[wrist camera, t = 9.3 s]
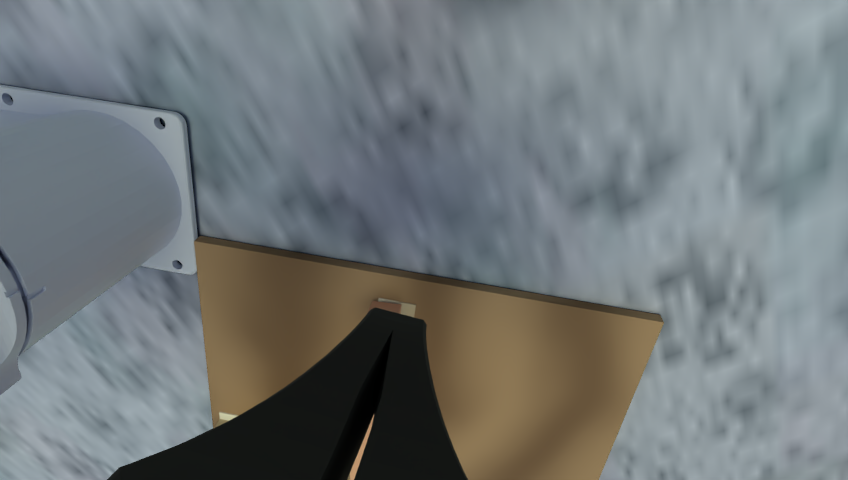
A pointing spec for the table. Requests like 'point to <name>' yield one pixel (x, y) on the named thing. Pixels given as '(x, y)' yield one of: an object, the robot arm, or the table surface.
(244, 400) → the board
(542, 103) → the table surface
